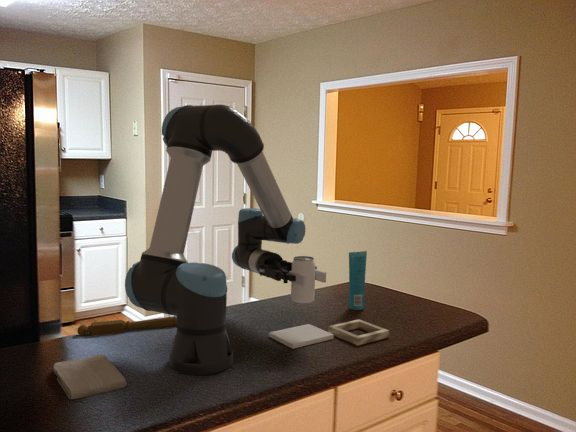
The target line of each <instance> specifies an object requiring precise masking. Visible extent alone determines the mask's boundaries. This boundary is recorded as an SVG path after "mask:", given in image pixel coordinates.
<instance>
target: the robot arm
mask: <svg viewBox="0 0 576 432" xmlns="http://www.w3.org/2000/svg"><path fill="white" fill-rule="evenodd" d="M161 135H162V136H163V137H162V141H163V143H164V144H165V146H166V148H165V151H166V153H167V154H168V156H169V158H170V159H169V163H168V167H167V172H166V176H165V180H164V184H163V189H162V194H161V197H160V202H159V205H158V209H157V215H156V219H155V223H154V228H153V232H152V236H151V241H150V244H149V247H148V248H147V249H145V250H144V251H143V252H142V253H141V256H140V259H139V261H137V262H134V263H133V264H132V267H129V268H128V270H127V272H126V275H125V279H124V280H125V281H124V289H125V293H126V296H127V298H128V300H129V302H130V303H131V304H132V305H134V306H135V307H137V308H139V309H142V310H144V311H148V312H155V313H160V314H163V315H164V314H165V315H169V316H173V317H174V316H175V317H176V318H177V325H176V333H175V337H174V340H173V343H172V346H171V349H170V352H169V356H168V363H169V365H168V366H169V367H170V368H171V370H172V371H175V372H177V373H179V374H184V375H190V376H192V375H193V376H203V375H205V376H206V375H213V374H217V373H221V372H224V371H225V370H227V369H229V368H230V367H232V365H233V364H234V351H233V348H232V347H233V346H232V345H231V342H230V339H229V336H228V332H227V299H228V298H227V295H228V294H227V293H228V285H227V276H226V273H225V272H224V270H223V269H222V268H220V267H218V266H216V265H214V264H210V263H204V262H201V263H200V262H188V260H187V259H186V257H185V250H186V249H185V248H186V245H187V240H188V235H189V230H190V225H191V222H192V218H193V213H194V210H195V205H196V199H197V194H198V190H199V186H200V181H201V176H202V172H203V168H204V166H205V165H207V164H208V163H209V162H211V159H212V155H213V152H216V151H218V152H219V151H220V152H224V153H225V154H226V155H227V156H228V158H229V160H230V161H231V163H234V164H237V167H238V169H239V171H240V172H241V175H242V176H243V178H244V180H245V182H246V184H247V186H248V188H249V190H250V192H251V193H252V196H253V197H254V198H253V199H254V200H255V201H256V203H257V206H258V207H259V208H253V207H249V208H247V207H246V208H245V207H244V208H241V209H240V210H239V211H238V217H237V220H238V221H237V245H236V246H235V247H234V248H233V250H232V252H231V259H232V262H233V264H234V265H236V266H237V267H238V268H241V269H242V270H246V271H249V272H252V273H255V274H258V275H259V276H260V277H263V276H264V277H266V278H269V279H271V280H274V281H277V282H281V281H282V280H283V281H282V283H283V284H288V283H289V282H290V283H291V282H293V283H296V284H299V285H302V286H306V275H302V274H299V273H296V272H293V271H292V262H293V261H292V262H291V261H288V260H284V258H282V256H281V254H279V253H276V252H273V251H270V250H266V249H262V247H263V245H262V244H263V241H267V242H275V243H281V244H287V245H288V244H292V245H293V244H295V245H297V244H300V243H302V241H303V240H304V237H305V235H306V225H305V221H304V220H302V219H300V218H297V217H296V218H294V217H293V215H292V213H291V212H290V209H289V207H288V205H287V203H286V200H285V197H284V196H283V193H282V192H281V189H280V187H279V185H278V183H277V180H276V178H275V176H274V174H273V171H272V169H271V167H270V165H269V163H268V160H267V157H266V156H265V154H264V150H265V145H264V144H265V143H264V142H263V140H262V137H261V135H260V134H259V132H258V131H257V128H255V126H254V124H252V123H251V121H250V120H249V119H248V118H247V117H246V116H245V115H244V114H243V113H241V112H240V111H239V110H238V109H235V108H234V107H232V106H230V105H229V106H228V105H227V104H226V105H225V104H211V105H210V104H207V105H206V104H203V105H191V104H189V105H188V104H187V105H186V104H185V105H183V106H177V107H175V108H173V109H171V110H169V111H168V112H167V114H166V115H165V117H164V119H163V121H162V125H161ZM315 281H317V282H321V283H327V272H326V271H323V270H319V269H318V266H316V265H315Z"/></svg>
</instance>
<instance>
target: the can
mask: <svg viewBox="0 0 576 432" xmlns="http://www.w3.org/2000/svg"><path fill="white" fill-rule="evenodd" d="M314 259H315V258H314V257H313V256H306V255H299V256H294V257H293V260H292V271H293V272H296V273H299V274H302V275H306V286H302V285H299V284H296V283H293V282H290V283H291V284H290V286H291V287H290V300H291V301H292V302H293V303H295V304H299V305H307V304H312V303H314V302H315V292H316V289H315V288H316V280H315V266H316V262H315V260H314Z"/></svg>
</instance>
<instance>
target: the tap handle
mask: <svg viewBox="0 0 576 432" xmlns="http://www.w3.org/2000/svg"><path fill="white" fill-rule="evenodd" d="M171 327H177V316H174V315H173V316H167V317H158V318H151V319H144V320H138V321H129V320H127V321H124V320H123V319H117V320H116V319H115V320H106V321H97V322H96V321H95V322H91V324H89V325H88V326H86V325H85V324H84V325H80V326H78V328H77V334H78V335H79V336H83V337H84V336H86V335H90V336H92V337H93V336H95V337H96V336H104V335H105V336H106V335H113V334H123V333H125V332H126V331H128V332H130V331H131V330H144V329H147V330H148V329H157V328H158V329H159V328H171Z"/></svg>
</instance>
